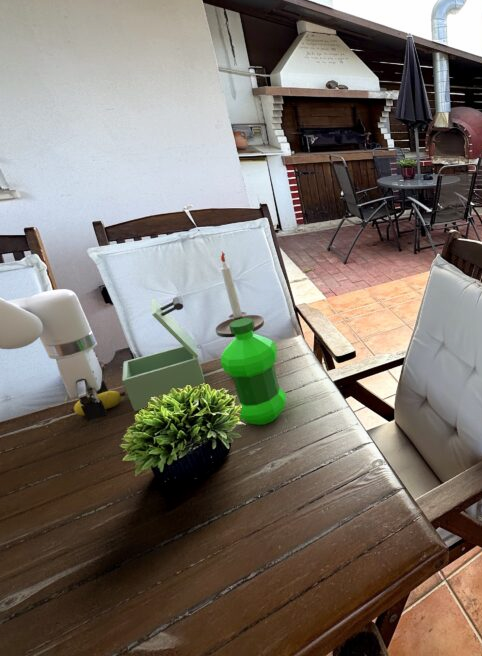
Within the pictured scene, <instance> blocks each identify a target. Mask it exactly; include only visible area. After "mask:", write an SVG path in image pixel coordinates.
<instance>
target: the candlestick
mask: <svg viewBox="0 0 482 656" xmlns="http://www.w3.org/2000/svg"><path fill="white" fill-rule="evenodd" d="M225 255H226V254H225V253H224V251H221V256H220V260H221V262H222V267H221V268H220V270H221V274H222V278H223V281H224V282H223V283H224V286H225V289H226V294H227V297H228V301H229V304H230V308H231V312H232V313H231V314H230V315H229V316H228V318H229V319H227V320H224V321H223V322H221V323H219V324H218V325H217V326H216V327H215V334H216V335H217V336H218V337H220V338H236V337H235V335H234V334H232V333H231V330H230V326H229V325H230V323H231V322H233V321H235V320H238V319H242V318H251V319H253V322H254V326H255V327H254V330H253V333H254V332H257V331H258V330H260V329H261V328H262V327H263V326H264V325H265V321H264V317H263V316H261V315H256V314H247V312H245V311H242V309H241V305H240V302H239V298H238V293H237V291H236V286H235V282H234V278H233V274H232V270H231V267H230V266H228V265H227V262H226V257H225Z"/></svg>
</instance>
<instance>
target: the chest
mask: <svg viewBox="0 0 482 656" xmlns="http://www.w3.org/2000/svg"><path fill="white" fill-rule="evenodd" d="M202 368H203V367H202V364H201V362H200V359H199V356H198V357H197V358H195V357H194V356H193V355H192V354H191V353H190V352H189V351H188V350H187V349H186V348H185V347H184V346H183V345H181V346H177V347H172V348H170V349H166V350H162V351H159V352H155V353H151V354H147V355H143V356H140V357H137V358H133V359H129V360H125V361H123V363H122V380H121V381H122V384H123V387H124V388H125V391H126V395H127V396H128V399H129V401H130V404H131V406H132V409H133V411H134V412H137V411H140V409H141V408H144V407H146V406H147V405H148V402H149V400H150V398H151V397H154V396H159V395H161V394H168V393H169V392H170V390H171V389H172V388H183V387H185V386H186V385H191V386H198V385H200V384H203V383H205V384H206V380H205V376H204V371H203V369H202ZM144 409H145V408H144ZM141 410H142V409H141Z"/></svg>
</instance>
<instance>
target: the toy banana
mask: <svg viewBox="0 0 482 656" xmlns="http://www.w3.org/2000/svg"><path fill="white" fill-rule="evenodd" d="M126 395H127V393H126V392H125V391H122V392H119V391H116V390H108V391H107V392H104V393H101V394H98V398H99V400H102V403H103V405H104V407H105V409H106V410H108V409H111V408H113V407H116V406H117V405H118V404H119V403H120V402H121V401H122V397H124V396H126ZM89 397H91V396H89ZM92 397H93V398H94V396H92ZM71 412H72V413H75V414H76V415H79V416H85V414H84V412H83V410H82V408H81V404H80V400H79V399H78V401H77V402H76V403H75V404H74V406H73V408H72V409H71Z"/></svg>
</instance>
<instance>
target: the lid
mask: <svg viewBox="0 0 482 656" xmlns="http://www.w3.org/2000/svg"><path fill="white" fill-rule="evenodd" d="M150 306H151V307H150V308H151V315H152V316H153V318H155V319H156V320H157V322H158V323H160V324H161V325H162V327H164V328H165V330H166V331H167V332H168V333H169V334H171V335H172V336H173V338H174V339H176V341H177V342H179V344H180V345H181V346H184V347H185V348H186V349H187V350H188V351H189V352H190V353H191V354H192V355H193V356H194V357H195V358H197V357H198V358H199V352H198V347H197V345H196V341H195V339H194V338H193V337H192V336H191V335H190V334H189V333H188V332H187V331H186V330H185V328H183V327H182V325H180V323H179V322H178V321H177V320H176V319H175V318H174V317H173V316H172V315H171V314H170V313H173V311H181V310H183V308H184V303H183V299H182V297H179V296H176V297H174V298H172V301H171V302H169V303H167V304H164V305H163V306H162V305H161V304H160V302H158V300H156V298H153V299H151V300H150Z"/></svg>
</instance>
